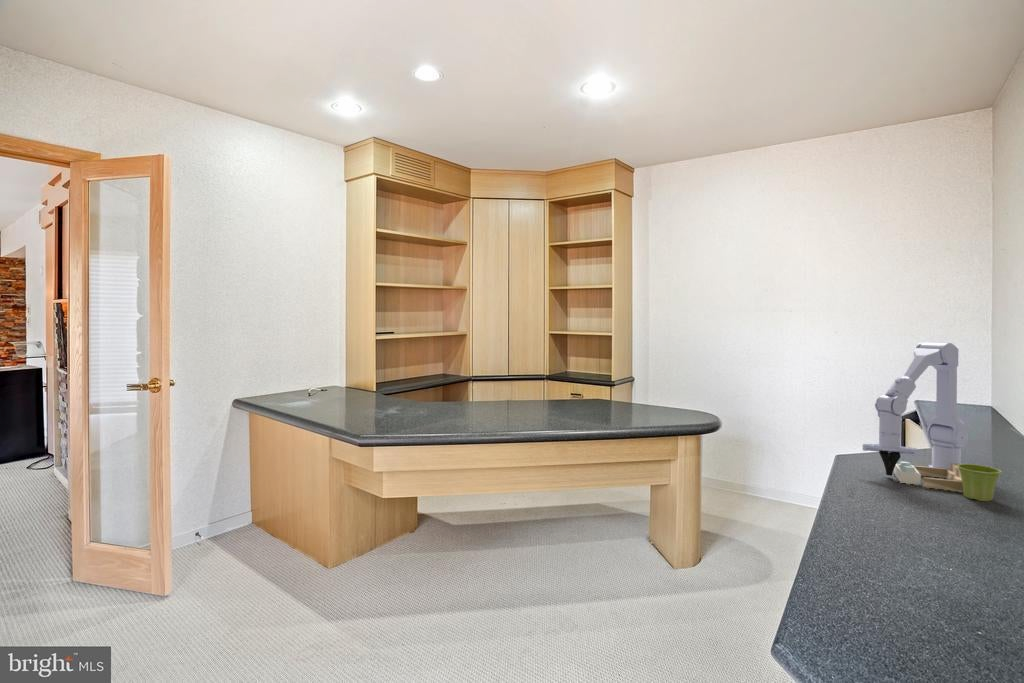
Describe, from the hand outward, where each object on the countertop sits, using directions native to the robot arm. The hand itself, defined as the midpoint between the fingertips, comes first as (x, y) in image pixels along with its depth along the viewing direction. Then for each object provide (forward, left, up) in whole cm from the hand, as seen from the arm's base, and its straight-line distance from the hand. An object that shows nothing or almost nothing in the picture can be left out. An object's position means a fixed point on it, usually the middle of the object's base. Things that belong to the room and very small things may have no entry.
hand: (889, 474), depth 174 cm
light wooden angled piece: (0, +14, -1) cm, 14 cm away
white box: (0, +5, -1) cm, 5 cm away
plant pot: (+13, +19, -1) cm, 23 cm away
